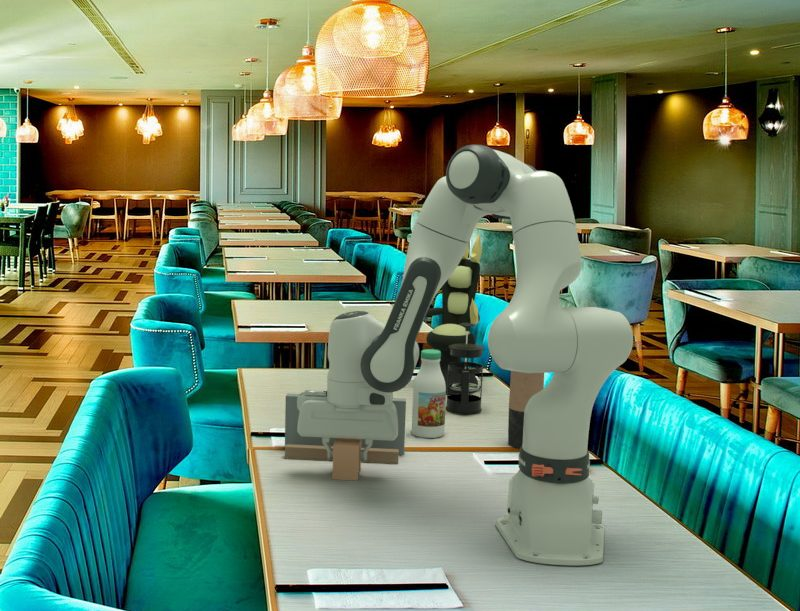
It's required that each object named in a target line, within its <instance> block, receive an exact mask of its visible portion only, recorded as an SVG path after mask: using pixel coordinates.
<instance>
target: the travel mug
mask: <svg viewBox="0 0 800 611" xmlns="http://www.w3.org/2000/svg"><path fill="white" fill-rule="evenodd" d="M509 382H510V384H509V398H508V420H507V422H508V426H507V428H508V429H507V430H508V431H507V433H508V434H507V444H508V446H510V447H512V448H515V449H519V448H520V447H521V446H522V445H523V427H524V410H525V407H526V404H527V402H528V401H529V399H530V398H531V397H532V396H533V395H535V394H536V393H538V392H540V391H541V390H543V389H544V388H545V385H544V384H545V373H522V372H516V371H510V380H509Z"/></svg>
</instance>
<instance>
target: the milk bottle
mask: <svg viewBox="0 0 800 611" xmlns="http://www.w3.org/2000/svg"><path fill="white" fill-rule="evenodd" d="M440 358H441V352H440V350H438V349H434V348H432V349H423V350H421V351H420V360H421V364H420V368H419V370H418V372H417V375H416V376H415V379H414V381H413V390H412V409H411V433H412V434H413V436H416V437H418V438H424V439H434V438H435V439H436V438H441V437H442V436H443V435H444V434H445V427H446V425H445V424H446V405H447V394H446V385H445V380H444V377H443V374H442V372H441V369H440V363H439V362H440V360H441V359H440Z"/></svg>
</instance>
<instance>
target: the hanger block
mask: <svg viewBox="0 0 800 611" xmlns="http://www.w3.org/2000/svg"><path fill="white" fill-rule="evenodd" d="M360 450H361V439H347V438H336V439H335V442H334V444H333V461H332V480H342V481H343V480H345V481H346V480H347V481H359V480H358V479H359V472H361V470H362V462H361V460H359V457H360V456H359V452H360Z"/></svg>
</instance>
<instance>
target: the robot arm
mask: <svg viewBox="0 0 800 611" xmlns="http://www.w3.org/2000/svg"><path fill="white" fill-rule="evenodd" d="M445 174H446V175H445V176H442V177H441V178H439V179H438V180H437V181H436V182H435V184H434V185H433V187H432V188H431V190H430V192H429V194H428V195H427V197H426V199H425V201H424V202H423V204H422V207H421V209H420V210H419V214H418V215H417V218H416V221H415V223H414V225H413V229H412V231H411V233H410V234H411V235H410V238H409V242H408V246H407V252H406V258H405V263H404V270H403V275H402V280H401V285H400V287H399V291H398V294H397V296H396V299H395V301H394V303H393V306H392V309H391V310H390V311H391V312H390V313H389V316H388V319H387V321H386V323H384V322H382V321H380V320H378V319H377V318H376V317H374V316H373V314H371V313H370V312H367V311H365V310H361V311H360V310H357V311H356V310H355V311H348V312H345V313H342V314H339V315H338V316H335V318H334V319H333V320H332V321H331V323H330V327H329V331H328V332H329V333H328V343H327V344H328V345H327V359H328V362H329V363H328V364H329V367H328V371H327V372H328V373H327V376H326V381H327V382H326V390H311V389H307V390H305V391H303V392H300V393H298V394H299V395H298V397H297V408H298V410H299V411H300V413H299V418H298V427H297V432H298V433H299V434H300V436H303V437H322V443H323V445H324V446H325V448H326V450H327V459H333V448H331V446H330V444H329V441H330V438H347V439H365V444H367V446H366V447H365V449H364V450H360V452H359V456H360V457H359V460H367V452H368V450H369V449H370V447H371V446H372V443H373V440H391V441H393V440H395V439H396V438H397V436H398V417H397V410H396V406H395V405H394V403H393V402H392V400H393V398H394V393H396V392H398V391H400V390H402V389H404V388H406V386H407V385H408V384H410V382H411V380H412V378H413V376H414V371H415V368H416V366H417V363H418V361H419V360H420V359H419V358H420V354H421V351H420V346H419V343H418V341H417V339H418V336H419V333H420V330H421V328H422V326H423V323H424V321H425V318H426V317H425V316H426V313H427V311H428V309H430V306H431V305H432V302H433V300H434V299H435V297H436V296H437V294H438V292H439V291H440V289H442V286H443V285H444V283H445V282H446V281H447V280H448V279H449V277H450V276H451V275H452V273H453V272H454V270H455V269H456V267H457V266H458V264H459V262H460V261H461V259H462V257H463V255H464V253H465V251H466V249H467V247H468V245H469V244H470V241H471V239H472V236H473V234H474V231H475V228H476V226H477V225H478V223H479V221H480V220H481V219H482V218H484V217H485V216H488V215H491V217H492V218H494V219H498V220H499V219H500V220H501V219H503V220H510V222H511V230H512V236H513V243H514V244H513V245H514V252H515V263H516V264H515V265H516V284H515V289H514V292H513V295H512V297H511V298H510V302H509V303H508V304H507V305H506V307H505V308H504V309H503V311H502V312H500V313H499V314H498V315H497V316H496V317H495V318H494V320H493V322H492V323H491V325H490V327H489V331H488V334H487V346H488V350H489V353H490V356H491V357H492V360H493V362H494V363H495V364H496V365H497V366H498V367H499V368H500V369H502V370H507V371H510V372H511V371H516V372H522V373H544V374H545V373H553V375H552V378H551V379H550V381H549V382H548V384H547V385H546V386H544V389H543V390H541V391H540V392H538V393H536V394H535V395H533V396H532V397H531V398H530V399H529V401H528V402H527V404H526V407H525V410H524V427H523V445H522V446H521V447H520V449H519V453H518V457H517V458H518V469H519V470H518V471H517V472H516V473H515V474H514V475H513V476H512V477H510V478H509V482H508V491H507V501H506V502H507V504H506V511H505V512H506V515H505V516H500V517H497V518H496V519H495V527H496V529H497V530H498V532H499V533H500V535H501V536H502V537H503V539H504V541H505V542H506V543H507V545H508V546H509V548H510V550H511V551H512V553H513V554H514V556H515V557H516V558H517V559H520V560H522V561H527V562H531V563H535V564H536V563H537V564H542V565H543V564H544V565H552V566H590V565H597V564H601V563H603V562H604V552H605V551H604V549H605V547H604V546H605V532H606V531H605V525H604V524H603V510H600V509H599V510H598V509H594V505H599V500H600V499H599V496H598V495H594V494H595V485H596V484H595V482H594V481H593V480H592V479H590V465H591V461H590V460H591V459H590V452H589V451H588V444H589V442H588V441H589V433H590V432H589V431H590V423H591V417H592V411H593V407H594V404H595V401H596V399H597V397H598V395H599V392H600V390H601V389H602V387H603V385H604V384H605V382H606V381H607V380H608V378H609V377H610V375H612V373H613V372H614V371H615V370H617V369H618V368H619V367H620V366H621V365H623V364H624V363H625V362H626V361H627V359H628V358H629V356H630V354H631V352H632V350H633V345H634V333H633V329H632V327H631V324H630V322H629V320H628V319H627V318H626V316H625V315H624V314H623V313H621V311H616V310H612V309H608V308H603V307H598V306H597V307H596V306H581V307H580V306H577V307H574V306H572V307H571V306H570V307H563V306H561V304H560V303H561V302H560V293H561V291H562V290H563V289H566V288H567V287H568V286H569V285H571V284H572V283H573V282H575V281H576V280H577V279H578V278H579V275H580V274H581V271H582V268H583V260H582V254H581V248H580V241H579V235H578V230H577V222H576V219H575V214H574V210H573V206H572V203H571V200H570V199H571V198H570V196H569V193H568V190H567V188H566V186H565V183H564V181H563V179H562V178H561V177H560V176H559V175H557V174H556V173H554V172H551V171H547V170H538V169H536V168H535V167H533V166H532V165H530V164H527V163H525V162H523V161H521V160H519V159H517V158H515V157H514V156H513V155H511V154H508V153H506V152H503V151H501V150H497V149H493V148H491V147H489V146H487V145H483V144H469V145H468V144H467V145H465V146H462V147H460V148H459V149H457V150H456V151H455V152H454V153H453V155H451V158H450V160H448V164H447V167H446V171H445ZM303 394H305V395H303ZM313 395H314V396H313Z"/></svg>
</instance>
